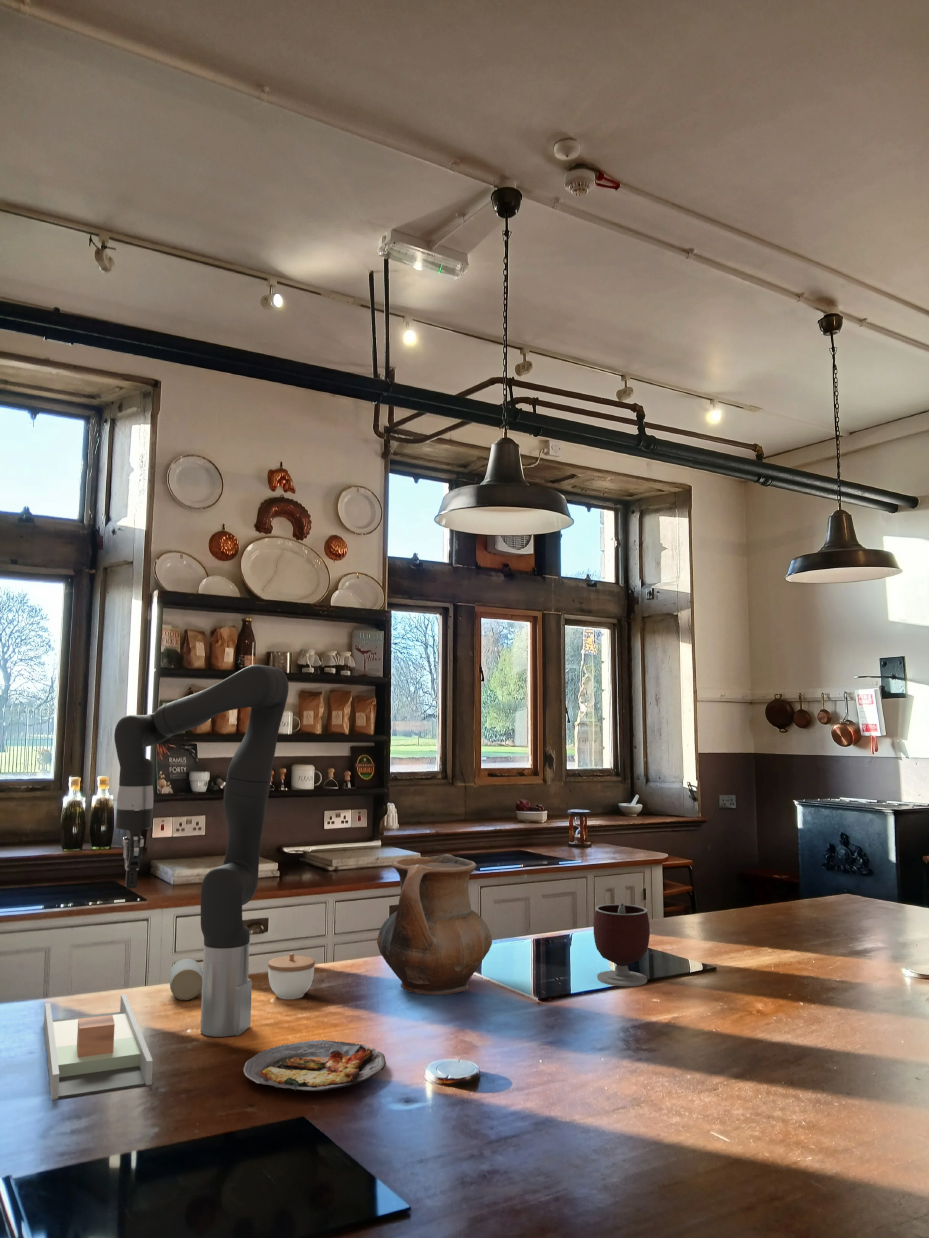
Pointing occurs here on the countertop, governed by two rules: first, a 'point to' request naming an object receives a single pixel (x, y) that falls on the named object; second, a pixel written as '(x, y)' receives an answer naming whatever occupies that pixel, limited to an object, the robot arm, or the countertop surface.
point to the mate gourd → (621, 941)
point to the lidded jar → (291, 975)
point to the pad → (98, 1058)
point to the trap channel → (96, 1082)
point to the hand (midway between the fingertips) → (131, 887)
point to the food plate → (315, 1065)
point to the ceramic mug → (186, 979)
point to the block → (95, 1036)
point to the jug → (434, 927)
